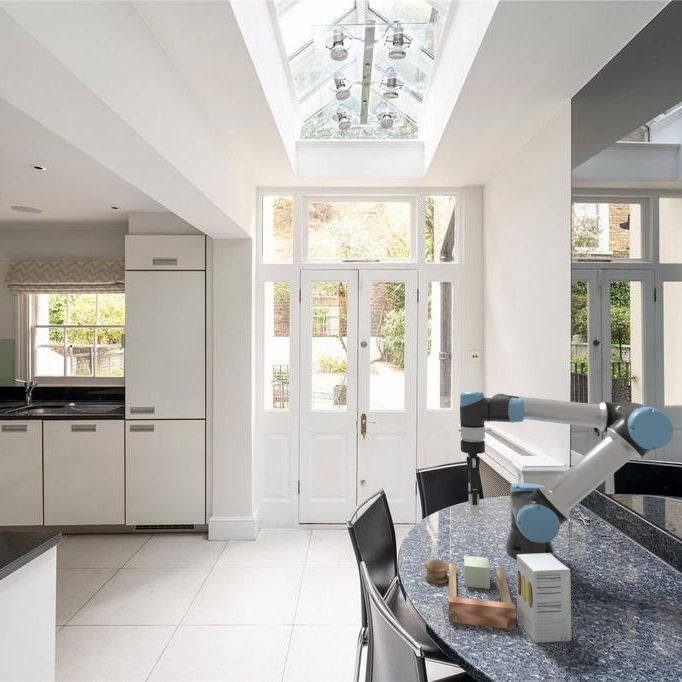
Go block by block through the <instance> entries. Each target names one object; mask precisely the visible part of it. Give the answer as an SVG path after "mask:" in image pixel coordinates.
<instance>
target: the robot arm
mask: <svg viewBox="0 0 682 682" xmlns="http://www.w3.org/2000/svg"><path fill="white" fill-rule="evenodd" d="M459 419H460V420H459V421H460V422H459V423H460V428H459V429H458V432H459V433H460V439H461V440H460V451H461V452H462V453H465V454H467V456H466V467H467V472H468V476H467V478H468V479H467V480H468V481H467V482H468V491H467V495H468V504H469V512H470V513H469V514H470V516H480V493H481V492H480V483H479V481H480V480H479V477H480V476H479V474H480V462H481V461H480V460H481V459H480V457H479V456H478V454H480V455H481V454H484V453H485V451H486V441H485V439H486V427H485V422H497V423H499V422H500V423H501V422H502V423H503V422H504V423H521V422H523V421H524V420H527V421H538V422H548V423H553V424H562V425H571V426H579V427H580V426H581V427H588V428H589V427H590V428H596V429H598V430H599V432H605V433H607V435H606V437H604V438H603V439H602V440H600V441H599V442H598V443H597V444H596V445H595V446H594V447H593V448H591V449H590V450H588V451H587V453H586V454H584V455H583V456H582V457H581V458H580V459H579V460H577V461H576V462H575V463H574V464H573V465H572V466H570V467H569V468H568V469H567V470H565V471H564V473H562V474H560V476H559V477H558V478H557V479H555V480H554V481H553V482H552V483H551V484H549V485H548V486H547V487H546V486H545V485H542V484H538V483H537V484H536V483H527V482H526V483H524V482H516V483H512V484H511V485H510V491H509V494H510V531H509V533H508V537H507V540H506V542H505V551H506V553H507V554H508V555H509V556H510V557H512V558H514V559H516V560H517V555H518V554H540V553H551V554H552V555H553V556H554V557H555V548H554V546H553V545H554V544H553V543H552V541H553V540H554V539H555V538H557V536H558V534H559V532H560V529H561V526H562V525H563V524H564V523H565V522H567V521H568V520H569V519H570V510H572V509H573V508H574V507H576V505H578V504H579V503H580V502H581V501H582V500H584V499H585V498H587V496H588V495H590V494H591V493H592V492H593V491H594V490H596V489H597V488H598V487H599V486H601V484H603V483H604V482H605V481H607V479H608V478H610V477H611V476H612V475H613V474H615V473H616V472H618V470H619V469H621V468H622V467H623V466H624V465H625V464H626V463H628V462H629V461H630V460H631V459H642V458H643V457H644V456H646V455H647V454H648V453H649V452H651V451H655V450H660V449H663V448H664V447H666V446H667V445H668V444H669V443H670V442H671V441H672V438H673V435H674V426H673V423H672V421H671V419H670V417H669V416H668V415H667V414H666V413H664V412H663V411H661V410H660V409H659V408H656V407H653V406H648V405H643V404H641V403H638V402H610V401H609V402H608V401H607V402H606V401H601V402H600V403H598V404H596V403H589V402H588V403H586V402H577V401H567V400H556V399H547V398H538V397H537V398H536V397H529V396H521V395H520V396H519V395H518V396H516V395H508V394H505V393H497V394H494V395H493V396H492V397H485V393H484V392H483V391H479V390H478V391H475V390H465V391H462V392H461V393H460V395H459Z"/></svg>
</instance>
